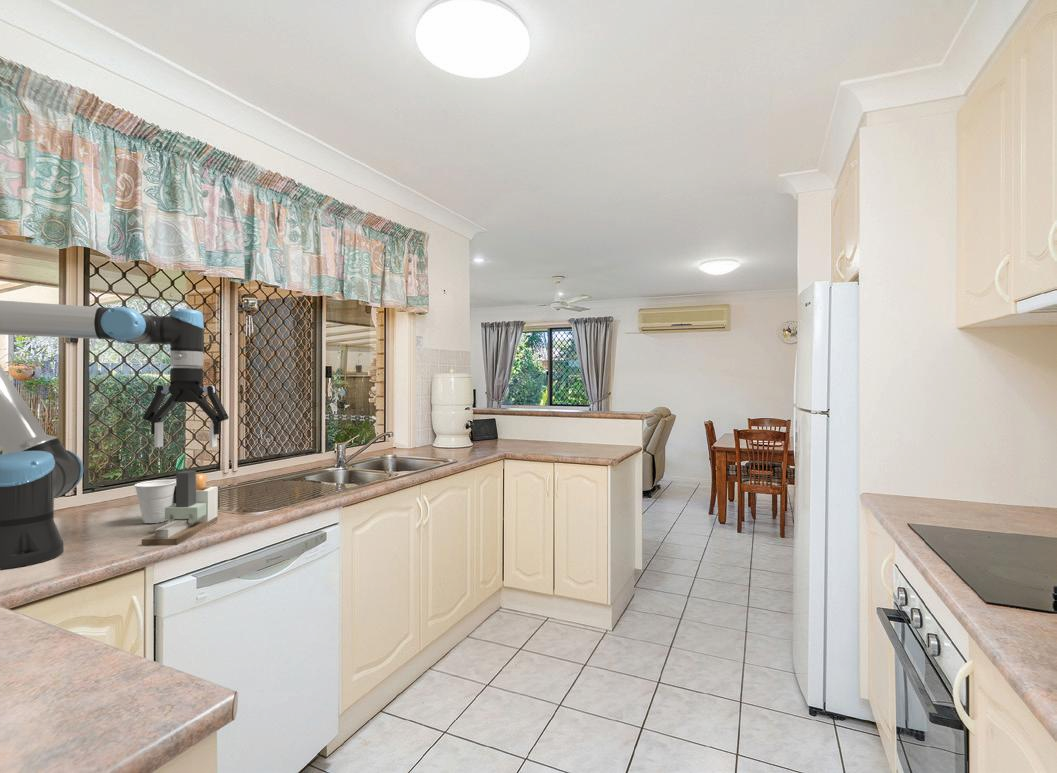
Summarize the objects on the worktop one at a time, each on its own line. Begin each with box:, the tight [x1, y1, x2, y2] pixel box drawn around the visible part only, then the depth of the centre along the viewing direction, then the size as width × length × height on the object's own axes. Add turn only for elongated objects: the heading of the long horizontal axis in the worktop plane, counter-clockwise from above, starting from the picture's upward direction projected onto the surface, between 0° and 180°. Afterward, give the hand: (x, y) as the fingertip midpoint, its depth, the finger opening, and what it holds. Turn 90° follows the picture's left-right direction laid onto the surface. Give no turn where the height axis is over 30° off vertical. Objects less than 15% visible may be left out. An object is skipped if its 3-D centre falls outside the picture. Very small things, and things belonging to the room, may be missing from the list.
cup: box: [134, 479, 176, 524], centre depth 152 cm, size 10×10×11 cm
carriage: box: [165, 470, 206, 523], centre depth 143 cm, size 8×5×13 cm, turn 97°
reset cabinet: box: [196, 486, 219, 522], centre depth 150 cm, size 8×6×8 cm
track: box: [141, 516, 218, 546], centre depth 142 cm, size 8×22×4 cm, turn 7°
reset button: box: [196, 473, 207, 491], centre depth 150 cm, size 4×4×5 cm
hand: (186, 447), depth 143 cm, fingers open, 13 cm apart
